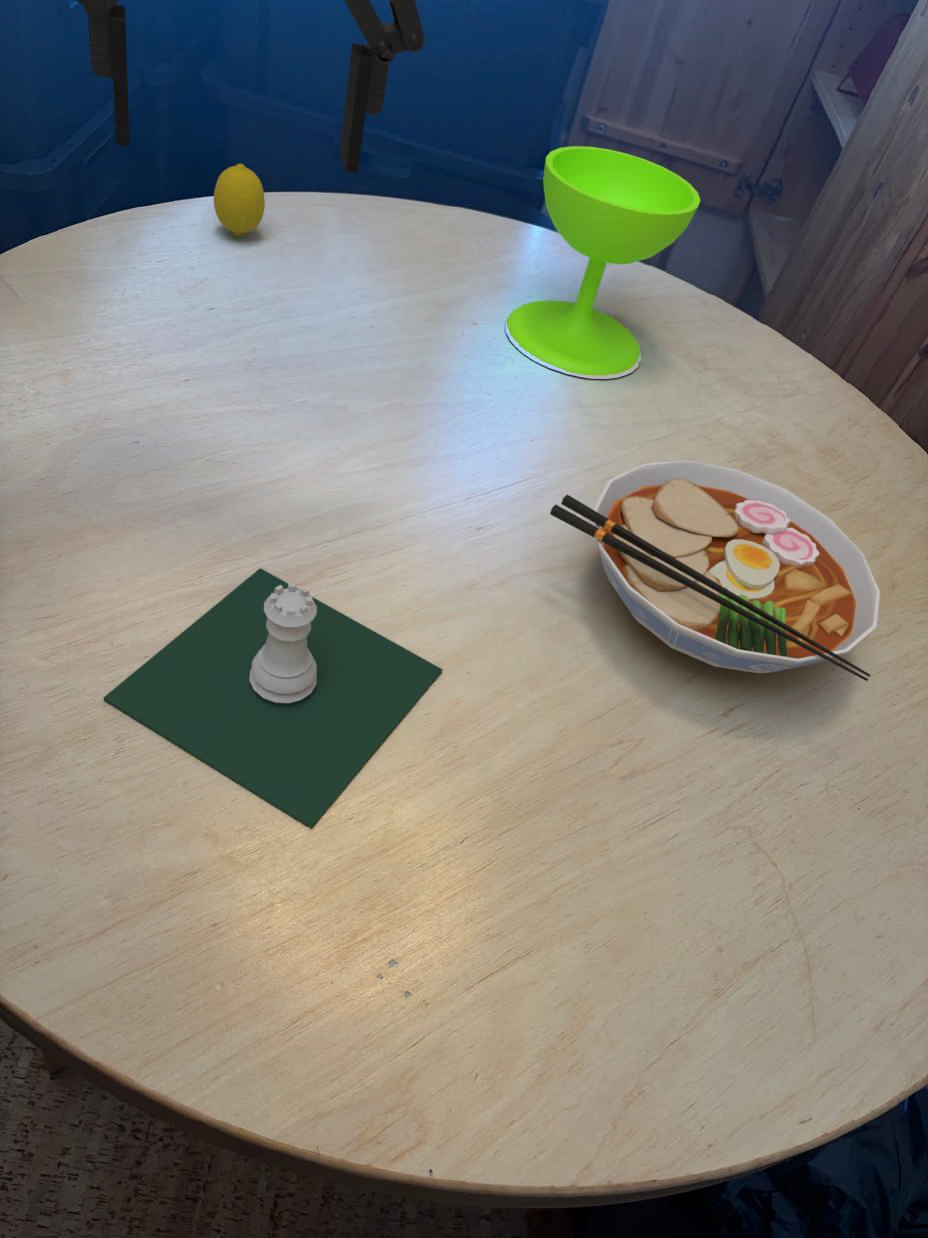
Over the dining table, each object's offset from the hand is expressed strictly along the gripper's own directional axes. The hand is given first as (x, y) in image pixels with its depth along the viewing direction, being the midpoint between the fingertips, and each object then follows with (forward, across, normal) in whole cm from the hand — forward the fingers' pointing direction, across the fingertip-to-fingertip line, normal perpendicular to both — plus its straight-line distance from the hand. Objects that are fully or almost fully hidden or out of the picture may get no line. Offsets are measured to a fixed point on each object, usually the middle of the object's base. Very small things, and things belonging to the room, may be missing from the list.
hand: (239, 151), depth 59 cm
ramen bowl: (+26, +37, -16) cm, 48 cm away
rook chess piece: (+26, +2, -21) cm, 34 cm away
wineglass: (+27, +40, +27) cm, 55 cm away
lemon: (+27, +5, +46) cm, 54 cm away
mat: (+26, +2, -21) cm, 34 cm away
